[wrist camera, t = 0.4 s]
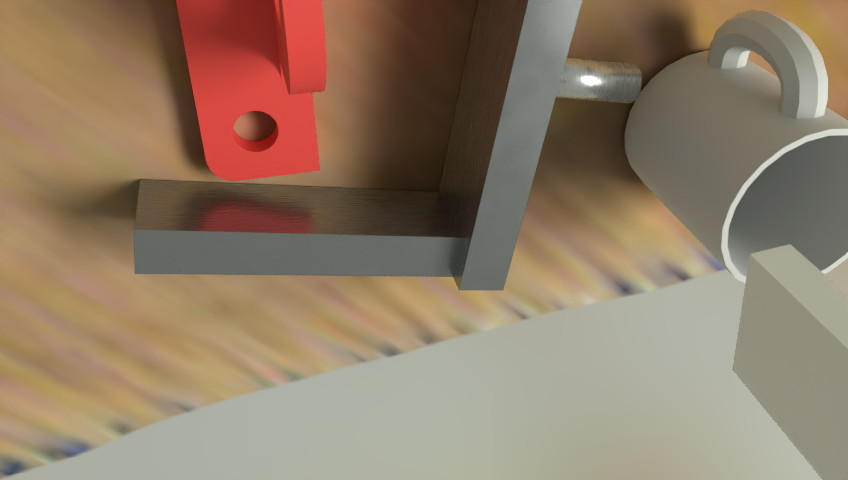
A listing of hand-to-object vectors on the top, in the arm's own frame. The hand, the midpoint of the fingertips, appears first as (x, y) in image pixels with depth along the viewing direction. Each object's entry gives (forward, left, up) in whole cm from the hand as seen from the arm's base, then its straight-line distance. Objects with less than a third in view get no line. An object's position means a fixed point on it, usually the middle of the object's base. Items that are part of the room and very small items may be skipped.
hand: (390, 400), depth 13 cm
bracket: (-1, -1, -22) cm, 22 cm away
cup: (+19, -1, -22) cm, 29 cm away
